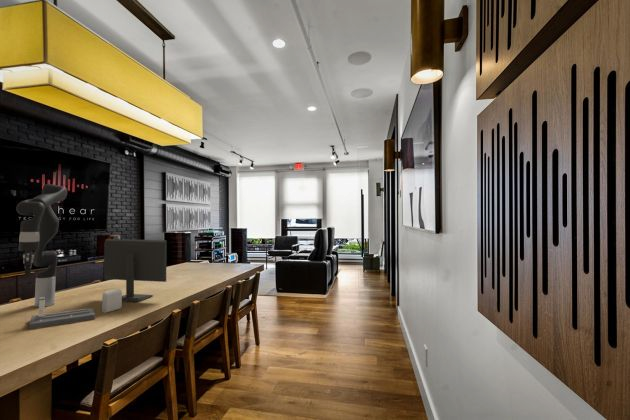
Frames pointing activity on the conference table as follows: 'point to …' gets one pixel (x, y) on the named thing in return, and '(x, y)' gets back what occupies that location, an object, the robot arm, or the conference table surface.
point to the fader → (41, 307)
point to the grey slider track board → (61, 318)
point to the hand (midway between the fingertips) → (27, 275)
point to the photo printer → (111, 300)
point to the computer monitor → (135, 263)
